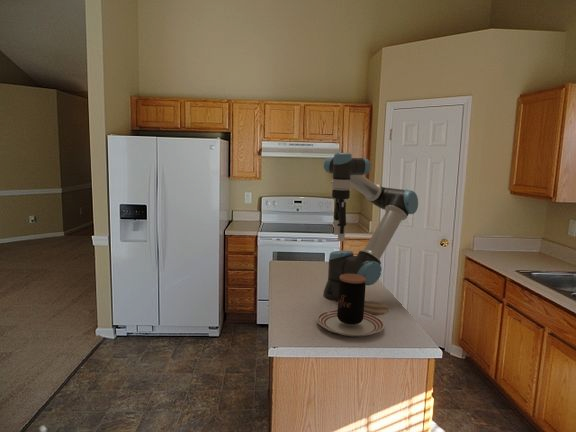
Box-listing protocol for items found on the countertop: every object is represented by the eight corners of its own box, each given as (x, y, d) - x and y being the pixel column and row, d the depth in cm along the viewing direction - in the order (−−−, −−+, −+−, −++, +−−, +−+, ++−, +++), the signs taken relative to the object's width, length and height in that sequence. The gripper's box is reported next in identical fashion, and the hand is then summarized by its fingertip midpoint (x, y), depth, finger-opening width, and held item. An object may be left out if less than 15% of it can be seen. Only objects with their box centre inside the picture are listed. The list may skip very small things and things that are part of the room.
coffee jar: (332, 315, 168) (335, 274, 165) (356, 313, 171) (358, 272, 168) (343, 326, 158) (346, 281, 155) (367, 323, 161) (370, 280, 158)
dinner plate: (305, 318, 173) (306, 310, 172) (361, 312, 182) (361, 305, 182) (335, 346, 147) (335, 337, 147) (397, 338, 157) (398, 330, 156)
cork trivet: (351, 301, 195) (351, 300, 195) (384, 303, 194) (385, 302, 194) (355, 313, 179) (355, 312, 179) (391, 315, 178) (391, 314, 178)
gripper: (329, 186, 185) (327, 231, 188) (336, 191, 160) (333, 243, 163) (345, 187, 185) (343, 232, 188) (354, 192, 160) (352, 244, 163)
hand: (338, 237), depth 176 cm, fingers open, 13 cm apart
